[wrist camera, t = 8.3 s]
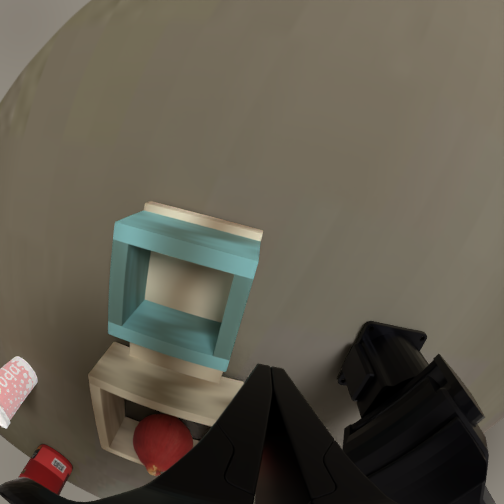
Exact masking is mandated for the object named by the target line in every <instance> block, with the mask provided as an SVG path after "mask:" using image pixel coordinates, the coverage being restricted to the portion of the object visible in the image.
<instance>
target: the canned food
mask: <svg viewBox="0 0 504 504" xmlns="http://www.w3.org/2000/svg"><path fill="white" fill-rule="evenodd" d="M71 472H72V465H71V463H70V462H69V461H68V460H67V459H66V458H65V457H64V456H63V455H61V454H60V453H59V452H57V451H56V450H54V449H53V448H51V447H49V446H47V445H44V444H42V445H40V446H39V447H38V448H37V450H36V451H35V453H34V454H33V456H32V457H31V459H30V460H29V462H28V463H27V465H26V466H25V468H24V469H23V471H22V472H21V474H20V476H19V477H18V478H21V477H26V478H29V479H32V480H34V481H35V482H37V483H39V484H41V485H42V486H44V487H46V488H47V489H49V490H51V491H52V492H54V493H56V494H57V495H59V494H60V492H61V490H62V488H63V487H64V485H65V483H66V481H67V479H68V477H69V475H70V473H71Z"/></svg>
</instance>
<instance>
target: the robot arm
mask: <svg viewBox="0 0 504 504" xmlns="http://www.w3.org/2000/svg"><path fill="white" fill-rule="evenodd" d="M371 326H373V327H372V328H371V329H369V327H371ZM422 336H423V337H422ZM421 337H422V338H421ZM420 338H421V339H420ZM426 339H427V335H426V334H425V332H422V331H417V330H412V329H407V328H402V327H398V326H393V325H388V324H383V323H379V322H374V321H369V322H367V323H366V324H365V326H364V328H363V330H362V332H361V334H360V336H359V338H358V340H357V342H356V343H355V344H354V345H353V347H352V349H351V351H350V352H349V354H348V356H347V358H346V360H345V362H344V364H343V366H342V370H341V372H340V374H339V376H338V378H337V380H338V383H339V384H340V385H347V386H348V390H349V393H350V396H351V399H352V400H353V401H356V402H357V405H358V409H359V412H360V415H361V419H360V420H359V421H357V422H356V423H354V424H353V425H349V426H347V427H346V428H345V429H344V440H343V450H342V449H341V447H340V446H339V445H338V443H337V442H336V441H334V438H333V437H332V436H331V434H330V433H329V432H328V430H327V429H326V427H325V426H324V425H323V423H322V422H321V421H320V419H319V418H318V417H317V415H316V414H315V412H314V411H313V410H312V408H311V407H310V406H309V404H308V403H307V401H306V400H305V399H304V397H303V396H302V394H301V393H300V392H299V390H298V389H297V387H296V386H295V385H294V383H293V382H292V380H291V379H290V377H289V376H288V375H287V373H286V372H285V370H284V369H282V368H278V367H271V368H270V366H268V365H263V364H257V365H256V367H255V368H254V370H253V371H252V373H251V374H250V375H249V377H248V378H247V380H246V381H245V382H244V384H243V385H242V387H241V388H240V389H239V391H238V392H237V394H236V395H235V396H234V398H233V399H232V401H231V402H230V403H229V405H228V406H227V407H226V409H225V410H224V411H223V413H222V414H221V415H220V417H219V418H218V419H217V421H216V422H215V423H214V424H213V426H212V427H211V428H210V429H209V431H208V432H207V433H206V434H205V435H204V437H203V438H202V439H201V440H200V441H199V442H198V443H197V444H196V445H195V446H194V447H193V448H192V449H191V450H190V451H189V452H188V453H187V454H185V455H184V456H183V457H182V458H181V459H179V460H178V461H177V462H176V463H175V464H173V465H172V466H171V467H170V468H169V469H167V470H166V471H165V472H164V473H162V474H161V475H160V476H158V477H157V478H156V479H154V480H153V481H151V482H150V483H148V484H146V485H144V486H142V487H140V488H137V489H134V490H131V491H127V492H124V493H121V494H118V495H114V496H111V497H107V498H103V499H100V500H96V501H91V502H76V501H72V500H68V499H66V498H63V497H61V496H59V495H57V494H56V493H54V492H52V491H51V490H49V489H47V488H46V487H44V486H42V485H41V484H39V483H37V482H35V481H34V480H32V479H29V478H26V477H21V478H18V479H15V480H12V481H8V482H5V483H4V484H2V485H0V495H1V496H2V497H3V498H5V499H6V500H7V501H8V502H9V503H10V504H253V502H254V496H255V504H496V503H495V501H494V500H493V498H492V496H491V494H490V493H489V491H488V490H487V487H486V486H485V483H486V475H487V467H488V456H489V455H488V448H487V442H486V437H485V435H484V434H483V432H482V431H481V429H480V427H479V426H478V423H479V422H480V421H481V420H482V419H484V418H485V416H484V414H483V413H482V411H481V409H480V407H479V406H478V404H477V402H476V401H475V399H474V397H473V396H472V394H471V393H470V392H469V390H468V389H467V387H466V386H465V385H464V383H463V382H462V381H461V379H460V378H459V377H458V376H457V374H456V373H455V372H454V371H453V370H452V368H451V367H450V366H449V365H448V364H447V362H446V361H445V360H444V359H443V358H442V357H441V355H440V354H438V355H437V356H436V357H435V358H434V360H433V361H432V362H431V363H430V364H428V363H427V361H426V360H425V358H424V357H423V355H422V354H421V352H420V350H421V348H422V346H423V344H424V343H425V341H426ZM342 379H344V380H342Z"/></svg>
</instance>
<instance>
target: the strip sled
mask: <svg viewBox="0 0 504 504" xmlns="http://www.w3.org/2000/svg"><path fill="white" fill-rule="evenodd" d="M262 235H263V230H259V229H255V228H252V227H248V226H244V225H240V224H237V223H233V222H229V221H226V220H222V219H218V218H214V217H210V216H207V215H203V214H199V213H195V212H191V211H187V210H183V209H180V208H176V207H172V206H168V205H164V204H160V203H156V202H152V201H150V202H147V203H145V207H144V211H141V212H139V213H136V214H133V215H131V216H128V217H126V218H124V219H121V220H119V221H116V222H115V227H114V236H113V245H112V255H111V267H110V282H109V305H108V334H110V335H113V336H115V337H118V338H121V339H123V340H126V341H128V342H130V347H127V346H125V345H122V344H119V343H117V342H113V343H112V345H111V346H110V347H109V348H108V350H107V351H106V352H105V353H104V355H103V356H102V357H101V358H100V360H99V361H98V362H97V364H96V365H95V366H94V367H93V369H92V370H91V371H90V373H89V374H88V378H89V385H90V392H91V398H92V404H93V410H94V415H95V420H96V425H97V430H98V435H99V439H100V443H101V447H102V449H104V450H107V451H109V452H111V453H113V454H116V455H118V456H121V457H123V458H126V459H128V460H131V461H133V462H136V463H139V464H141V465H143V464H142V463H141V461H140V460H139V458H138V456H137V454H136V452H135V450H134V447H133V435H134V431H135V428H136V426H137V425H138V423H139V422H138V421H135V420H133V419H130V418H128V417H125V404H124V398H125V399H127V400H130V401H132V402H135V403H138V404H140V405H143V406H146V407H149V408H152V409H154V410H157V411H160V412H163V413H166V414H170V415H173V416H176V417H179V418H183V419H186V420H189V421H193V422H197V423H200V424H204V425H208V426H213V424H214V423H215V422H216V421H217V419H218V418H219V417H220V415H221V414H222V413H223V411H224V410H225V409H226V407H227V406H228V405H229V403H230V402H231V401H232V399H233V398H234V396H235V395H236V394H237V392H238V391H239V389H240V388H241V387H242V385H243V384H244V382H242V381H238V380H234V379H230V378H226V377H222V373H223V371H224V372H226V370H227V367H228V363H229V360H230V357H231V353H232V350H233V346H234V343H235V340H236V336H237V333H238V330H239V326H240V323H241V320H242V316H243V313H244V309H245V306H246V303H247V299H248V296H249V292H250V289H251V285H252V282H253V279H254V275H255V272H256V268H257V265H258V261H259V252H260V242H261V238H262ZM198 442H199V441H198V440H194V439H193V447H194V446H195V445H196V444H197V443H198Z"/></svg>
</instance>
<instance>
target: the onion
mask: <svg viewBox="0 0 504 504" xmlns="http://www.w3.org/2000/svg"><path fill="white" fill-rule="evenodd" d="M133 447H134V450H135V452H136V454H137V456H138V458H139V460H140V461H141V463H142V464H143V465H144V466H145V467H146V469H147V471H148V473H149V474H150V475H153V476H157V475H161V473H160V472H165V471H166V470H167V469H169V468H170V467H171V466H172V465H173V464H175V463H176V462H177V461H178V460H179V459H181V458H182V457H183V456H184V455H185V454H187V453H188V452H189V451H190V450H191V449H192V448H193V439H192V436H191V433H190V431H189V429H188V428H187V427H186V426H185V425H184V423H183V422H182V421H180V420H179V419H178V418H177V417H176V416H173V415H170V414H153V415H149V416H147V417H145V418H144V419H143V420H141V421H140V422H139V423H138V425H137V426H136V428H135V431H134V435H133Z"/></svg>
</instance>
